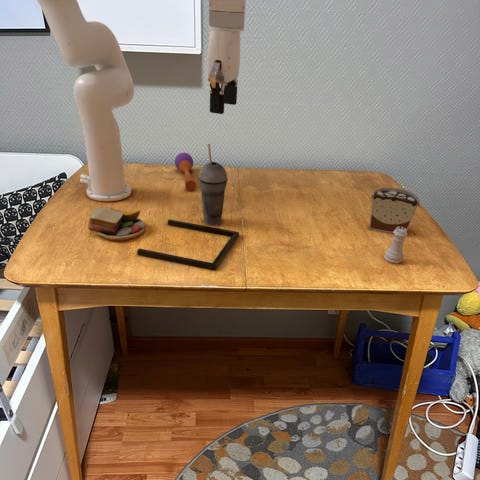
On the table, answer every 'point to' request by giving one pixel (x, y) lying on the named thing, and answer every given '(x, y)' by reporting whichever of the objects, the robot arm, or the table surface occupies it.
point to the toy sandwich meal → (115, 224)
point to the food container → (392, 209)
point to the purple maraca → (186, 169)
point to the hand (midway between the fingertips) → (223, 108)
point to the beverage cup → (212, 190)
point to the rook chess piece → (396, 246)
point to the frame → (193, 262)
